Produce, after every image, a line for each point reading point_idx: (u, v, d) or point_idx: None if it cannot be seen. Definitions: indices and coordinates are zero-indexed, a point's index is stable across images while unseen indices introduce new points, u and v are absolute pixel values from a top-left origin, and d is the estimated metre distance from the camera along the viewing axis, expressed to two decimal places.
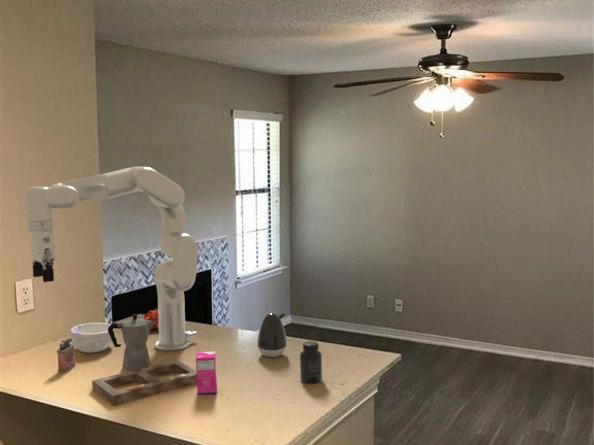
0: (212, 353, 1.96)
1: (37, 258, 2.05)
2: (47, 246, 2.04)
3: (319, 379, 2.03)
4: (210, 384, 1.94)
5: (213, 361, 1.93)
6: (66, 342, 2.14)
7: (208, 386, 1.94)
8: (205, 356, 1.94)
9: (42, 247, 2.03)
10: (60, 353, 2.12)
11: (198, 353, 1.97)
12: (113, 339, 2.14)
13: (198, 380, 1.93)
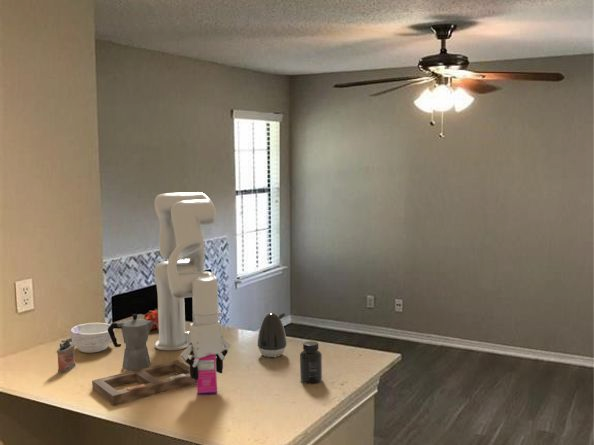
0: None
1: (216, 350, 1.95)
2: None
3: (319, 379, 2.03)
4: (210, 384, 1.94)
5: (213, 361, 1.93)
6: (66, 342, 2.14)
7: (208, 386, 1.94)
8: None
9: None
10: (60, 353, 2.12)
11: None
12: (113, 339, 2.14)
13: (198, 380, 1.93)
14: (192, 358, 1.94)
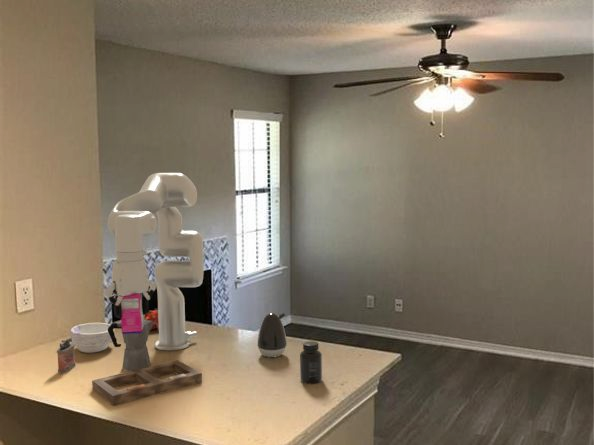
0: None
1: (140, 289, 1.93)
2: None
3: (319, 379, 2.03)
4: (135, 323, 1.92)
5: (137, 299, 1.91)
6: (66, 342, 2.14)
7: (132, 325, 1.92)
8: None
9: None
10: (60, 353, 2.12)
11: None
12: (113, 339, 2.14)
13: (122, 319, 1.91)
14: (116, 297, 1.91)
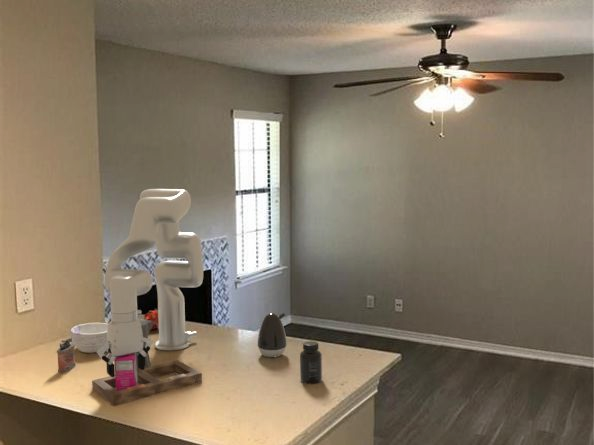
0: (132, 353, 1.96)
1: (135, 349, 1.95)
2: None
3: (319, 379, 2.03)
4: (129, 385, 1.94)
5: (131, 361, 1.93)
6: (66, 342, 2.14)
7: (127, 387, 1.94)
8: (123, 356, 1.94)
9: None
10: (60, 353, 2.12)
11: None
12: None
13: (117, 380, 1.93)
14: (109, 355, 1.93)
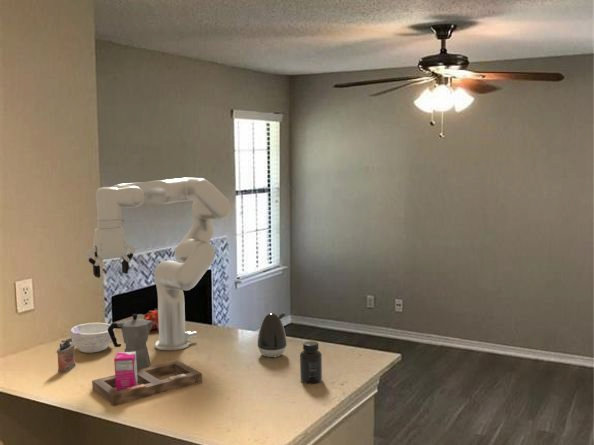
0: (132, 353, 1.96)
1: (119, 254, 2.18)
2: None
3: (319, 379, 2.03)
4: (129, 385, 1.94)
5: (131, 361, 1.93)
6: (66, 342, 2.14)
7: (127, 387, 1.94)
8: (123, 356, 1.94)
9: None
10: (60, 353, 2.12)
11: (118, 353, 1.97)
12: (113, 339, 2.14)
13: (117, 380, 1.93)
14: (96, 259, 2.16)
